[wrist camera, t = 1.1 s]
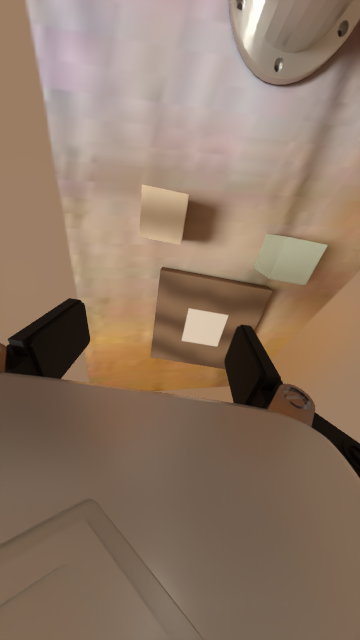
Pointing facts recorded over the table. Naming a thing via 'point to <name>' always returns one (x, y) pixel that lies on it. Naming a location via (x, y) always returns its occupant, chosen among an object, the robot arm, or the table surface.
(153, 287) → the table surface
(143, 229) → the maple block
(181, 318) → the walnut board
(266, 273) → the sage block
